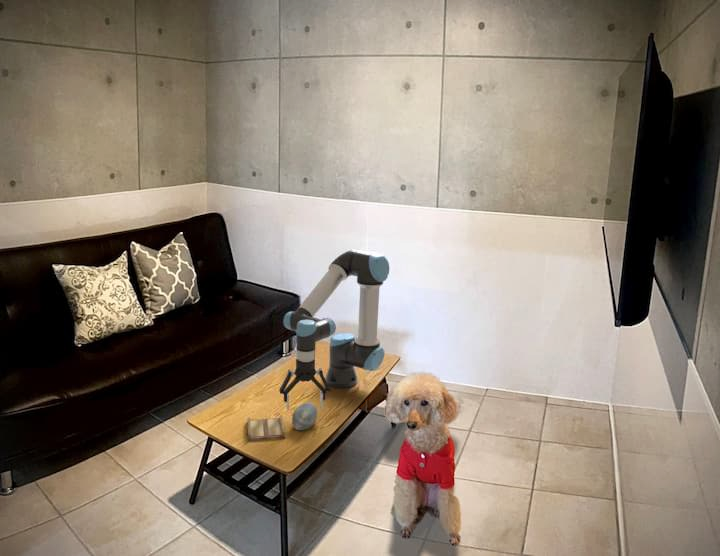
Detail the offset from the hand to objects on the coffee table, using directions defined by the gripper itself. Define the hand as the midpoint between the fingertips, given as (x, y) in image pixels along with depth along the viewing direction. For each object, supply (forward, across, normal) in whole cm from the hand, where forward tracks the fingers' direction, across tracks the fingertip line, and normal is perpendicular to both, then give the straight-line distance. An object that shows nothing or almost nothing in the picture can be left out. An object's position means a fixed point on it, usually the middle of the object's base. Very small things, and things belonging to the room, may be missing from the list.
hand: (304, 407), depth 247 cm
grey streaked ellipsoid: (+8, 0, 0) cm, 8 cm away
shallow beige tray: (+8, +16, +2) cm, 18 cm away
